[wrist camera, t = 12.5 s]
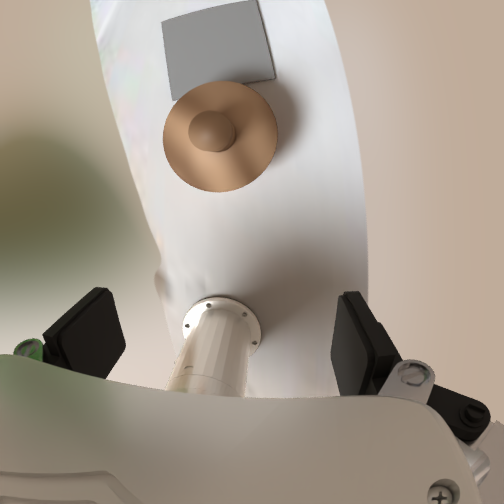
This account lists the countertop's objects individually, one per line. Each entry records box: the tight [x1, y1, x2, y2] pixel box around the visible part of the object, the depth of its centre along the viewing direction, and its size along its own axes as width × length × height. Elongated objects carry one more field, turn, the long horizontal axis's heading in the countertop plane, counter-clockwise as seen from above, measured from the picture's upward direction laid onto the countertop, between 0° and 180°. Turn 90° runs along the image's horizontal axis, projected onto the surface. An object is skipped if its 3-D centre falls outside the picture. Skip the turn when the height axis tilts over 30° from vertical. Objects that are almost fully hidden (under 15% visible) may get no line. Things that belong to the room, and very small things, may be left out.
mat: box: [161, 0, 275, 101], centre depth 30 cm, size 14×14×1 cm
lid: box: [163, 81, 278, 192], centre depth 27 cm, size 13×13×6 cm
